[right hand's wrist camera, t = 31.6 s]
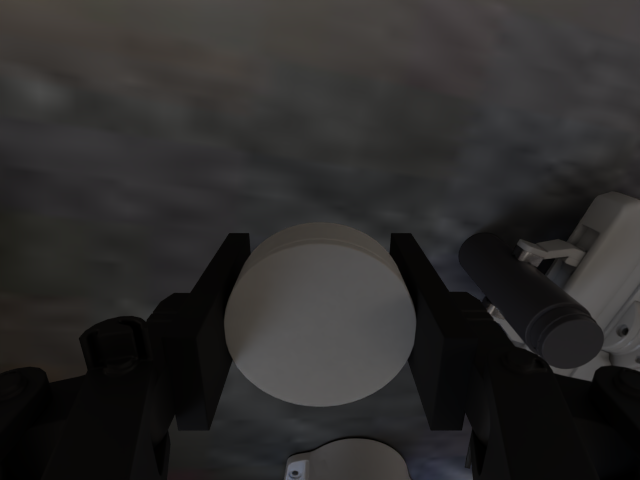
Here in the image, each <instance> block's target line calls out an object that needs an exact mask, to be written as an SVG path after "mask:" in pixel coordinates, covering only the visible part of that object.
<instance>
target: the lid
mask: <svg viewBox="0 0 640 480" xmlns="http://www.w3.org/2000/svg"><path fill="white" fill-rule="evenodd" d="M224 329H225V338H226V344H227V347H228V350H229V353H230V355H231V357H232V359H233V361H234V362H235V364H236V365H237V367H238V368H239V370H240V371H241V372H242V373H243V374H244V376H245V377H246V378H247V379H248V380H250V381H251V382H252V383H253V384H254V385H255V386H257V387H258V388H260V389H261V390H263V391H264V392H266V393H268V394H270V395H272V396H274V397H276V398H279V399H281V400H284V401H287V402H290V403H294V404H299V405H305V406H317V407H321V406H335V405H342V404H346V403H350V402H354V401H356V400H359V399H362V398H364V397H366V396H368V395H371V394H373V393H374V392H376V391H377V390H379V389H381V388H382V387H383V386H385V385H386V384H387V383H388V382H390V381H391V380H392V379H393V378H394V377H395V376H396V375H397V374H398V373H399V371H400V370H401V369H402V367H403V366H404V365H405V363H406V361H407V359H408V357H409V356H410V353H411V351H412V348H413V345H414V340H415V331H416V312H415V308H414V304H413V301H412V299H411V296H410V294H409V292H408V289H407V287H406V285H405V283H404V280H403V278H402V276H401V274H400V271H399V269H398V267H397V265H396V263H395V262H394V260H393V258H392V257H391V256H390V254H389V253H388V252H387V251H386V250H385V248H383V247H382V246H381V245H380V244H379V243H378V242H377V241H375V240H374V239H373V238H371V237H370V236H368V235H367V234H365V233H363V232H361V231H359V230H356V229H354V228H351V227H348V226H344V225H340V224H335V223H325V222H317V223H306V224H300V225H296V226H293V227H289V228H286V229H284V230H282V231H280V232H277V233H276V234H274V235H272V236H271V237H269V238H267V239H266V240H265V241H264V242H262V243H261V244H260V245H259V246H258V247H257V248H256V249H255V250H254V251H253V252H252V253H251V255H250V256H249V258H248V259H247V260H246V262H245V264H244V266H243V268H242V270H241V272H240V274H239V276H238V279H237V281H236V283H235V285H234V287H233V290H232V292H231V294H230V296H229V299H228V302H227V305H226V308H225V314H224Z"/></svg>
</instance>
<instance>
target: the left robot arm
mask: <svg viewBox="0 0 640 480" xmlns="http://www.w3.org/2000/svg"><path fill="white" fill-rule="evenodd" d="M511 254H512V255H513V256H515V258H517V259H518V260H520V261H522V262H524V263H529V264H531V265H533V266H535V267H538V266H539V264H540V263H541V261H542V260H543V259H551V258H555V260H554V261H553V263H552V265H551V266H550V268H549V269H548V271H547V272H546V274H545V276H547V277H548V278H549V279H550V280H551V281H553V282H554V283H555V284H556V285H558V286H559V287H560V288H561V289H563V290H564V291H565V292H566V293H568V294H569V295H570V296H571V297H572V298H574V299H575V300H576V301H577V302H579V303H580V304H581V305H582V306H584V307H585V308H586V309H587V310H588V311H589V313H590V314H591V316H592V318H593V319H594V320H595V321H596V322H597V324H598V325H599V326H600V328H601V329H602V331H603V334H604V343H603V346H602V349H601V350H600V352H599V353H598V355H597V356H596V357H595V358H593V359H592V360H591V361H590V362H588V363H586V364H585V365H582V366H580V367H577V368H573V369H559V368H555V367H553V366H550V365H549V366H550V367H551V369H552V370H553V373H556V374H560V375H563V376H568V377H573V378H578V379H582V380H587V381H592V379H593V376H594V373H595V371H596V370H597V369H598V368H600V367H601V366H609V365H613V366H621V367H626V368H631V369H632V370H633V369H634V370H637V371H640V200H638V199H636V198H633V197H630V196H628V195H625V194H622V193H618V192H614V191H612V192H608V193H604V194H601V195H598V196H597V197H596V198H595V199H594V200H593V202H592V203H591V205H590V206H589V208H588V210H587V211H586V213H585V214H584V216H583V217H582V219H581V220H580V222H579V223H578V225H577V226H576V228H575V229H574V231H573V232H572V234H571V236H570V237H569V239H568V240H567V242H565V241H563V240H560V239H555V240H550V241H545V242H540V243H536V244H533V243H531V242H528V241H525V240H522V239H520V240H519V241H518V243H517V245H516V246H515V248H514V250H513V251H512V253H511ZM481 303H482V304H483V305H484V307H485V308H486V309H487V312H489V313H490V314H491V316H492V317H493V318H494V321H496V322H497V323H499V324H500V325H501V326H502V328H503V329H504V330H505V331H506V335H507V336H508V338H509V339H510V340H511V342H512V343H513V344H514V345H515V347H519V348H523V349H526V350H528V351H530V352H532V351H531V350H530V349H529V348H528V347H527V345H526V344H525V343H524V342H523V340H522V339H521V338H520V337H519V336H518V334H517V333H516V332H515V331H514V329H513V328H512V327H511V326H510V325H509V323H508V322H507V321H506V320H505V318H504V317H503V316H502V315H501V314H500V312H499V311H498V310H497V309H496V308H495V306H494V305H493V304H492V303H491V301H490V300H489V299H488V298H487V297H486V296H485V297H484V299H483V301H482V302H481ZM538 356H539V355H538ZM284 480H412V479H411V478H410V477H409V474H408V469H407V465H406V463H405V461H404V459H403V458H402V457H401V455H400V454H399V453H398V452H396V451H395V450H394V449H393V448H391V447H389V446H387V445H385V444H383V443H380V442H377V441H374V440H369V439H359V438H353V439H343V440H338V441H334V442H331V443H329V444H326V445H324V446H322V447H320V448H318V449H316V450H314V451H312V452H308V453H301V454H296V455H293V456H291V457H289V458H288V460H287V465H286V470H285V476H284Z"/></svg>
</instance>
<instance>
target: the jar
mask: <svg viewBox="0 0 640 480" xmlns="http://www.w3.org/2000/svg"><path fill="white" fill-rule="evenodd" d="M512 251H513V249H512V248H511V247H509V246H508V245H507V244H506V243H505V242H503V241H502V240H501V239H500V238H498V237H497V236H495V235H493V234H490V233H479V234H476V235H473V236H472V237H470V238H469V239H467V240H466V241H465V242H464V243H463V245H462V246H461V248H460V251H459V262H460V264H461V266H462V267H463V268H464V270H465V271H466V272H467V273H468V275H469V276H470V277H471V278H472V279H473V281H474V282H475V283H476V284H477V286H478V287H479V288H480V289H481V290H482V292H483V293H484V294H485V295H486V297H487V298H488V299H489V300H490V301H491V303H492V304H493V305H494V306H495V308H496V309H497V310H498V311H499V312H500V314H501V315H502V316H503V317H504V318H505V320H506V321H507V322H508V323H509V325H510V326H511V327H512V328H513V329H514V331H515V332H516V333H517V334H518V336H519V337H520V338H521V339H522V340H523V342H524V343H525V344H526V345H527V347H528V348H529V349H530V350H531V351H532V352H533V353H535V354H537V355H539V356H540V357H541V358H542V359H544V360H545V361H546V362H547V363H548V364H549V365H550V366H553V367H555V368H559V369H573V368H577V367H580V366H582V365H585V364H586V363H588V362H590V361H591V360H592V359H593V358H595V357H596V356H597V355H598V353H599V352H600V350H601V349H602V346H603V343H604V334H603V331H602V329H601V328H600V326H599V325H598V324H597V322H596V321H595V320H594V319H593V318H592V316H591V314H590V313H589V311H588V310H587V309H586V308H585V307H584V306H582V305H581V304H580V303H579V302H577V301H576V300H575V299H574V298H572V297H571V296H570V295H569V294H568V293H566V292H565V291H564V290H563V289H561V288H560V287H559V286H558V285H556V284H555V283H554V282H553V281H551V280H550V279H549V278H548V277H547V276H545V275H544V274H543V273H542V272H540V271H539V270H538V269H537V268H535V267H534V266H533V265H531V264H529V263H524V262H522V261H520V260H518V259H517V258H515V256H513V255H512V254H511V253H512Z"/></svg>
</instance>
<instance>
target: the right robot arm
mask: <svg viewBox="0 0 640 480" xmlns="http://www.w3.org/2000/svg"><path fill="white" fill-rule="evenodd" d="M250 255H251V253H250V239H249V233H229V234H228V236H227V238H226V239H225V241H224V242H223V244H222V245H221V247H220V248H219V250H218V251H217V253H216V254H215V256H214V257H213V259H212V260H211V262H210V264H209V265H208V267H207V268H206V270H205V271H204V273H203V274H202V276H201V277H200V279H199V280H198V282H197V283H196V285H195V286H194V288H193V290H192V291H191V293H173V294H172V295H170V296H169V297H167V298H166V299H164V300H163V301H161V302H160V303H159V305H158V306H157V307H156V309H155V310H154V311H153V314H151V315H150V316H149V318H148V319H147V322H146V321H144V320H143V319H142V318H139V317H134V316H121V317H116V318H112V319H107V320H105V321H102V322H100V323H97V324H95V325H94V326H92V327H90V328H89V329H87V330H86V331H85V332H84V333H83V334H82V335H81V336H80V338H79V340H80V344H81V347H82V351H83V355H84V358H85V362H86V365H87V369H88V371H87V373H86V375H83V376H79V377H75V378H70V379H65V380H61V381H56V382H51V383H49V381H48V378H47V375H46V372H44V371H43V370H42V369H40V368H35V367H24V368H17V369H13V370H9V371H6V372H3V373H0V480H167V474H168V464H169V454H170V445H171V444H170V438H169V433H168V428H169V426H170V424H171V422H172V420H173V417H174V415H176V420H177V425H178V430H210V427H211V424H212V421H213V418H214V415H215V412H216V408H217V405H218V402H219V399H220V396H221V393H222V390H223V387H224V384H225V381H226V378H227V375H228V372H229V369H230V366H231V363H232V360H233V359H232V357H231V355H230V353H229V350H228V347H227V344H226V338H225V329H224V314H225V308H226V305H227V302H228V299H229V296H230V294H231V292H232V290H233V287H234V285H235V283H236V281H237V279H238V276H239V274H240V272H241V270H242V268H243V266H244V264H245V262H246V260H247V259H248V258H249V256H250ZM390 256H391V257H392V258H393V260H394V262H395V263H396V265H397V267H398V269H399V271H400V274H401V276H402V278H403V280H404V283H405V285H406V287H407V289H408V292H409V294H410V296H411V299H412V301H413V304H414V308H415V312H416V331H415V340H414V345H413V348H412V351H411V353H410V356H409V357H408V362H409V365H410V368H411V371H412V374H413V377H414V380H415V384H416V387H417V390H418V393H419V396H420V399H421V402H422V405H423V408H424V411H425V414H426V417H427V420H428V423H429V426H430V429H431V430H462V427H463V421H464V416H465V413H466V415H467V417H468V419H469V422H470V424H471V426H472V433H471V438H470V443H469V448H468V453H467V458H466V464H465V468H470V465H471V463H472V473H473V480H640V371H637V370H634V369H633V370H632V369H631V368H626V367H621V366H613V365H609V366H601V367H600V368H598V369H597V370H596V371H595V373H594V376H593V379H592V381H587V380H582V379H578V378H573V377H568V376H563V375H560V374H556V373H553V370H552V369H551V367H550V366H549V364H548V363H547V362H546V361H545V360H544V359H542V358H541V357H540V356H538V355H537V354H535V353H533V352H530V351H528V350H526V349H523V348H519V347H515V345H514V344H513V343H512V342H511V340H510V339H509V338H508V336H507V335H506V334H505V333H504V331H503V330H502V329H501V327H500V326H499V325H498V324H497V322H496V321H494V318H493V317H492V316H491V314H490V313H489V312H487V309H486V308H485V307H484V305H483V304H482V303H481V302H480V300H478V299H477V298H475V297H474V296H472V295H470V294H469V293H467V292H449V291H448V289H447V288H446V286H445V285H444V283H443V282H442V280H441V278H440V277H439V275H438V274H437V272H436V271H435V269H434V268H433V266H432V265H431V263H430V262H429V260H428V259H427V257H426V256H425V254H424V252H423V251H422V249H421V248H420V246H419V245H418V243H417V242H416V240H415V239H414V237H413V236H412V234H411V233H391V242H390Z"/></svg>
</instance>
